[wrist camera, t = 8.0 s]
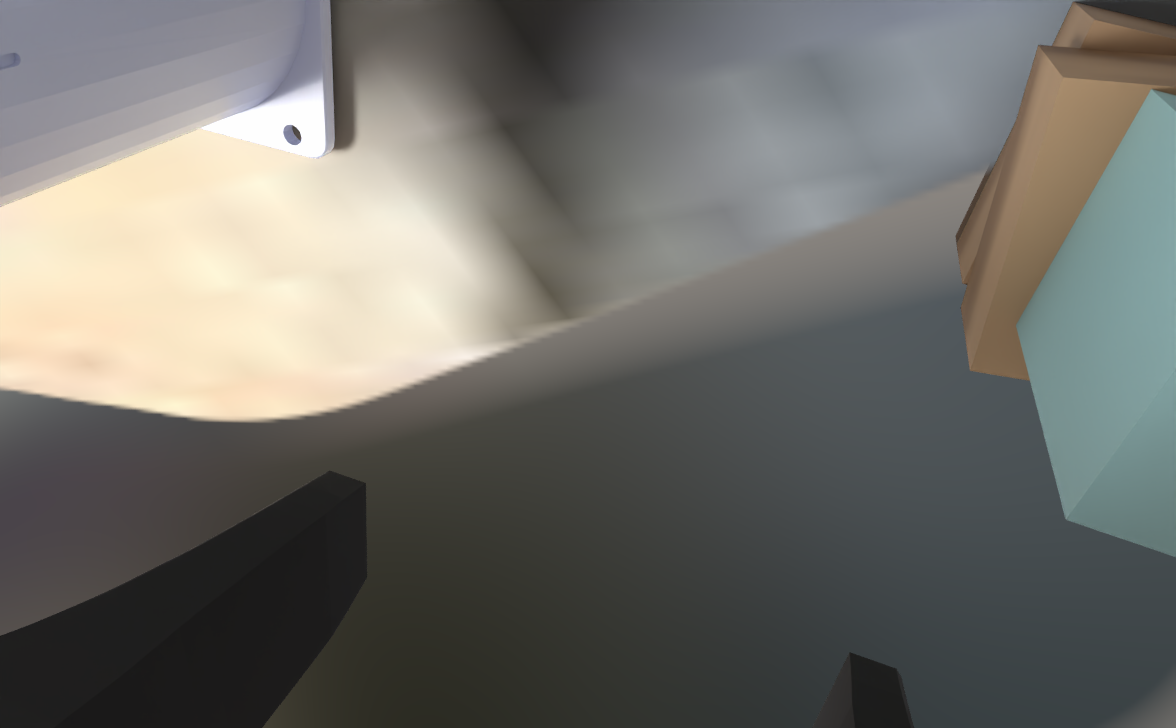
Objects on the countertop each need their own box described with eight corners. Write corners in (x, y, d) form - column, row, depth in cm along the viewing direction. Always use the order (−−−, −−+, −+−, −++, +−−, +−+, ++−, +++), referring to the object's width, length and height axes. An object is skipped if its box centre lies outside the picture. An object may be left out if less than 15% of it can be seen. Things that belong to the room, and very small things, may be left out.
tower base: (955, 236, 18) (962, 283, 16) (1068, -2, 16) (1094, 20, 14) (1192, 304, 18) (1230, 362, 16) (1356, 66, 15) (1429, 100, 13)
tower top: (960, 307, 17) (970, 370, 15) (1038, 44, 14) (1062, 77, 12) (1247, 351, 15) (1301, 426, 13) (1391, 72, 13) (1485, 113, 11)
